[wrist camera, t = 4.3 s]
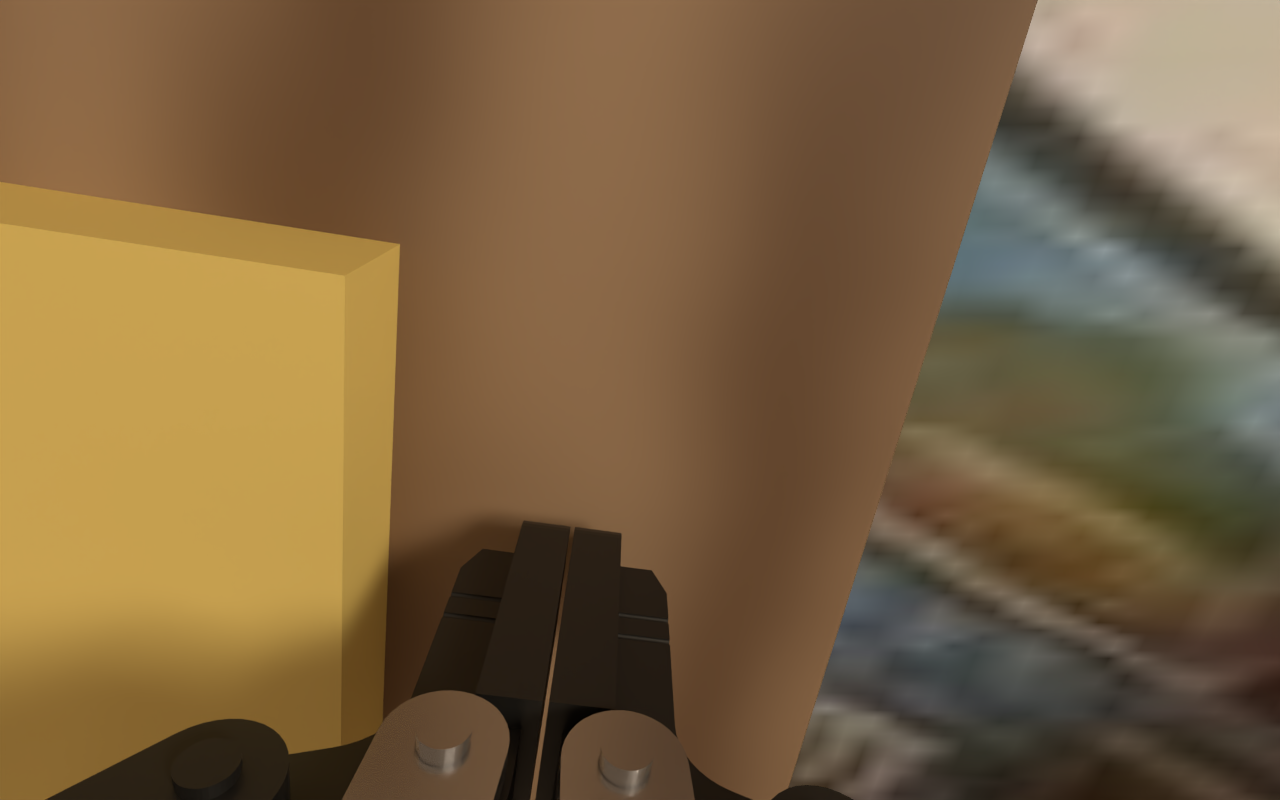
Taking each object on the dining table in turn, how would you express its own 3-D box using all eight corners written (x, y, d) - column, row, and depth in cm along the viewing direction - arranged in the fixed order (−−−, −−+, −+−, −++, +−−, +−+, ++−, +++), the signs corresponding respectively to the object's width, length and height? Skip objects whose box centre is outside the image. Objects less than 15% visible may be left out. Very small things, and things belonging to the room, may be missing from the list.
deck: (970, -74, 11) (1079, -134, 8) (715, 844, 19) (729, 974, 16) (-135, -282, 10) (-425, -428, 7) (57, 770, 18) (-53, 895, 15)
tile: (400, 244, 10) (345, 275, 8) (381, 741, 13) (340, 843, 11) (-62, 171, 10) (-230, 188, 8) (37, 700, 13) (-64, 800, 11)
